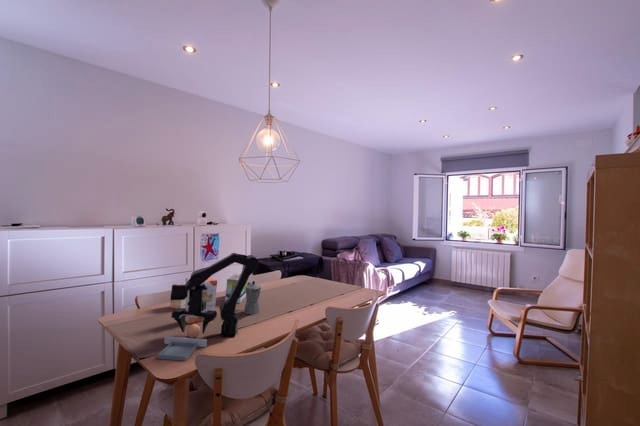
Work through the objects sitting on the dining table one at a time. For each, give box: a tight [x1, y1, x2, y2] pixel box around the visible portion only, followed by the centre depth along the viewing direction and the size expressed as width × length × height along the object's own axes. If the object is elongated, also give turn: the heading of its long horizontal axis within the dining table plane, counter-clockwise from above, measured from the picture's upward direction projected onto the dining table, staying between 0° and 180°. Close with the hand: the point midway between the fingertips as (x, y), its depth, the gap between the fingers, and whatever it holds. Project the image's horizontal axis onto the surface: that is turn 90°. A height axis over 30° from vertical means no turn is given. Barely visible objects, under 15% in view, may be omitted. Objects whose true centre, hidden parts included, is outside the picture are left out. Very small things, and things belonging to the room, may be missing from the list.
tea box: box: [224, 273, 249, 304], centre depth 191 cm, size 15×10×15 cm
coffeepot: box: [243, 281, 262, 315], centre depth 172 cm, size 15×9×18 cm, turn 33°
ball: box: [185, 323, 201, 339], centre depth 136 cm, size 6×6×6 cm
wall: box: [164, 335, 208, 348], centre depth 128 cm, size 18×1×3 cm, turn 90°
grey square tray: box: [157, 342, 198, 361], centre depth 122 cm, size 11×11×2 cm
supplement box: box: [169, 283, 186, 310], centre depth 169 cm, size 8×5×13 cm, turn 69°
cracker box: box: [185, 277, 218, 325], centre depth 155 cm, size 14×6×21 cm, turn 138°
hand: (193, 332), depth 136 cm, fingers open, 9 cm apart
